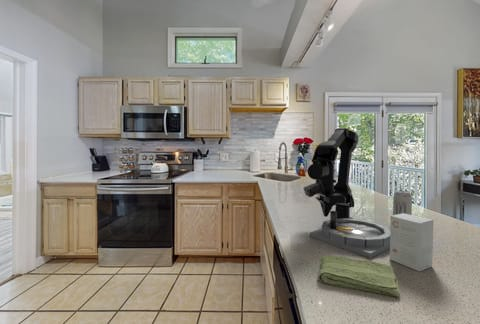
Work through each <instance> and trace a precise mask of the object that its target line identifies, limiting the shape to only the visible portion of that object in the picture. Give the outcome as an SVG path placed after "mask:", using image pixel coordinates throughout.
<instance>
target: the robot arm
mask: <svg viewBox="0 0 480 324" xmlns="http://www.w3.org/2000/svg"><path fill="white" fill-rule="evenodd" d="M358 143H359V135H358V134H357V133H356V132H355V131H354V130H350V129H349V128H348V127H339V128H336V129H334V131H333V134H332V135H330V137H329V138H328V139H327V140H326V141H324V142H323V141H322V142H321V143H319V144H318V145H317V146H316V148H315V150H314V153H313V155H312V158H311V163H312V164H310V165H309V166H308V168H307V170H306V171H307V175H308V177H309V178H310V179H312V180H315V183H311V184H308V185H306V186H304V187H303V191H304V194H305V196H308V198H312V197H314V196H315V195H316V196H315V198H314V199H316V200H317V201H318V202H319V204H320V207H321V211H322V214H323V217H328V216H329V215H330V211H332V209H333V207H334V206H335V208H334V209H335V210H334V211H336V212H337V219H341V218H346V219H347V218H349V219H354V218H353V217H351V215H350V214H351V211H350V210H351V209H352V208H355V199H354V196H353V194H352V192H353V191H352V189H351V188H352V187H350V184H349V183H350V173H351V172H350V171H351V163H352V154H353V152H354V151H355V150H356V149H357V145H358ZM338 148H339V149H338ZM339 150H340V156H339V165H338V173H337V179H335V165H336V163H335V161H336V160H337V157H338V155H339Z"/></svg>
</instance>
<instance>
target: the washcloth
mask: <svg viewBox="0 0 480 324" xmlns="http://www.w3.org/2000/svg"><path fill="white" fill-rule="evenodd" d="M320 262H321V263H320V267H321V268H320V269H319V271H318V274H317V278H318V280H319V281H320V283H322V284H326V285H332V286H336V287H339V288H347V289H351V290H357V291H362V292H363V291H364V292H370V293H375V294H381V293H382V295H385V294H386V296H388V295H391V296H390V297H395V296H397V297H401V296H400V294H401V292H400V289H399V281H398V279H397V277H396V275H395V273H394V267H392V266H390V265H388V264H385V263H381V262H377V261H374V260H373V261H372V260H364V259H357V258H348V257H345V256H342V255H341V256H339V255H333V254H329V255H327V254H326V255H323V256H322V257H321V261H320Z"/></svg>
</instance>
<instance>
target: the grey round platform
mask: <svg viewBox="0 0 480 324" xmlns="http://www.w3.org/2000/svg"><path fill="white" fill-rule="evenodd" d="M339 223H354V224H361V225H366V226H370V227H373V228H375V229H377V230H379V231H380V232H381V233H382V235H380V236H378V237H358V236H350V235H345V234H344V233H339V232H335V231H333V230H332V229H330V219H327V220H325V221H323V222H322V224H321V228H319V229H316V230H314V231H310V232H309V237H311V238H313V239H316V240H318V241H322V242H324V243H328V244H329V245H333V246H335V247H338V248H341V249H344V250H346V251H349V252H352V253H355V254H358V255H360V256H363V257H366V258H369V259H372V258H374V257H376V256H377V255H379V254H381V253H383V252H385V251H387V250H388V249H389V250H390V227H386V226H385V225H382V224H380V223H377V222H373V221H369V220H365V219H359V218H358V219H356V218H353V219H349V218H347V219H346V218H341V219H337V224H339Z"/></svg>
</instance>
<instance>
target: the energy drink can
mask: <svg viewBox="0 0 480 324" xmlns="http://www.w3.org/2000/svg"><path fill="white" fill-rule="evenodd" d="M392 198H393V199H392V200H393V202H392V215H397V214H402V213H404V214H409V215H413V214H412V213H413V212H412V211H413V208H412V207H413V196H412V194H411V191H406V190H395V192H394V194H393V197H392Z"/></svg>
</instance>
